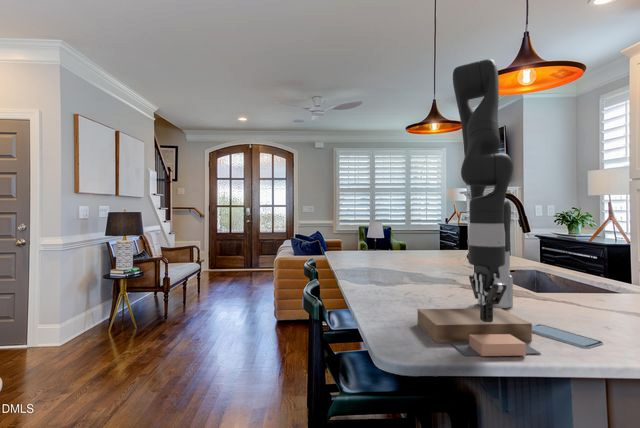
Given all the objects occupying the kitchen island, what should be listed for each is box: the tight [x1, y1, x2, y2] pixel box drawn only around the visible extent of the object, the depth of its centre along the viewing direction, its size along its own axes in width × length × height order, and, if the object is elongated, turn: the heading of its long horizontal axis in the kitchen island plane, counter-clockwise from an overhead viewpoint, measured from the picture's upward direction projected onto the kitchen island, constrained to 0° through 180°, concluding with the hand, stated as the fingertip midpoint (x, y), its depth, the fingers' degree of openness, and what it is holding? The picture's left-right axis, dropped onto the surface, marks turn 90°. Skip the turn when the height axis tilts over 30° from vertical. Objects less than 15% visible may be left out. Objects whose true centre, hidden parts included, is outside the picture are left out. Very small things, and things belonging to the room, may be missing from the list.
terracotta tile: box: [469, 334, 527, 357], centre depth 80 cm, size 9×6×2 cm, turn 92°
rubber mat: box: [449, 342, 542, 357], centre depth 82 cm, size 16×8×1 cm, turn 93°
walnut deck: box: [417, 307, 533, 344], centre depth 93 cm, size 22×14×4 cm, turn 93°
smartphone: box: [532, 323, 604, 349], centre depth 90 cm, size 7×1×15 cm
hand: (486, 321), depth 85 cm, fingers closed
